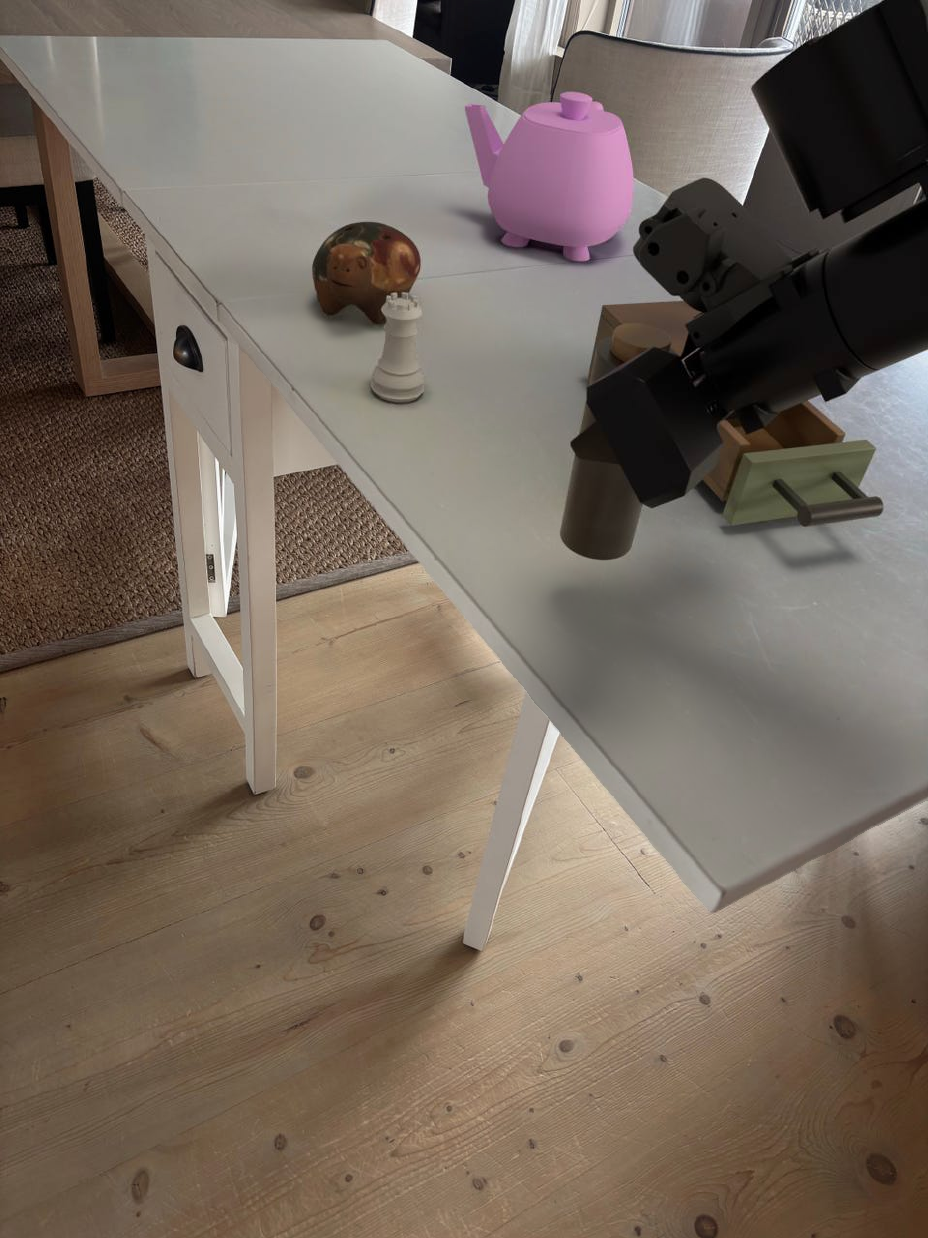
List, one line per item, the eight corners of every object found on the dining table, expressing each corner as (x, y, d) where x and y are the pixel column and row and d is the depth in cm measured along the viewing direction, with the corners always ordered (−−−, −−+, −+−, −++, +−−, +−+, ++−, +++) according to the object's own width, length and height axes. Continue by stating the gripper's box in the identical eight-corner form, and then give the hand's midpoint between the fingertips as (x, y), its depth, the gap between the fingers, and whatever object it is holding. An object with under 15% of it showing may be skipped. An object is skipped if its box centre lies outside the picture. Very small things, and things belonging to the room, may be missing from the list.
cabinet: (775, 444, 78) (803, 366, 73) (652, 458, 75) (674, 376, 70) (700, 372, 87) (721, 298, 82) (586, 381, 83) (602, 304, 78)
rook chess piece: (383, 408, 76) (388, 313, 71) (362, 382, 79) (364, 290, 74) (433, 400, 78) (440, 307, 73) (410, 375, 81) (416, 284, 76)
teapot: (487, 190, 119) (502, 55, 109) (641, 223, 116) (670, 87, 106) (432, 238, 105) (443, 88, 95) (604, 278, 101) (635, 126, 91)
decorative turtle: (294, 334, 84) (289, 242, 80) (339, 282, 96) (337, 199, 92) (399, 346, 84) (401, 254, 79) (432, 292, 96) (435, 209, 91)
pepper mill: (646, 546, 57) (703, 344, 48) (592, 569, 55) (641, 362, 46) (598, 509, 59) (644, 310, 51) (544, 529, 57) (582, 325, 48)
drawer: (889, 547, 67) (920, 484, 63) (766, 566, 64) (791, 502, 60) (765, 429, 78) (786, 371, 74) (655, 441, 75) (671, 380, 71)
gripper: (850, 103, 46) (610, 261, 57) (679, 179, 34) (421, 359, 46) (942, 311, 48) (693, 422, 60) (813, 451, 36) (533, 556, 48)
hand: (596, 434), depth 53 cm, fingers closed on pepper mill, 4 cm apart
